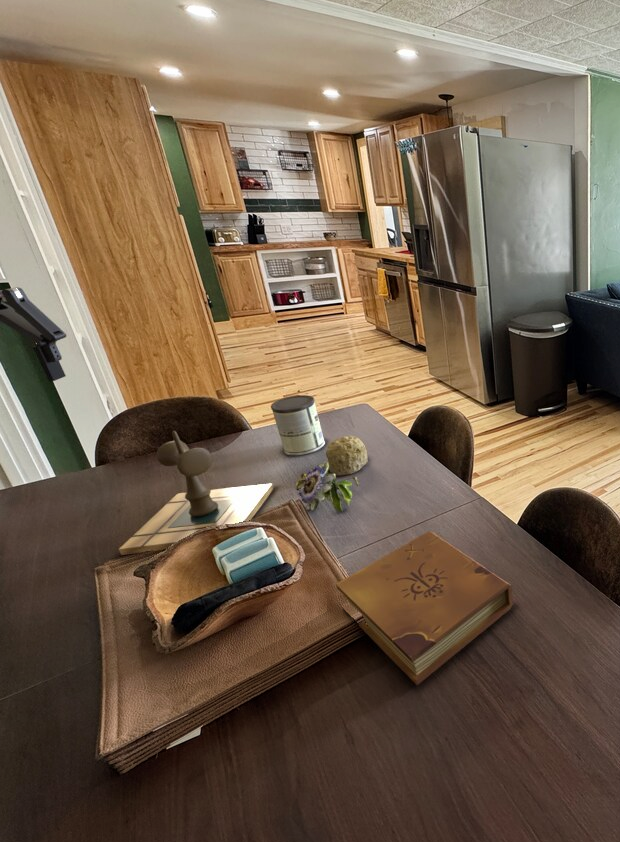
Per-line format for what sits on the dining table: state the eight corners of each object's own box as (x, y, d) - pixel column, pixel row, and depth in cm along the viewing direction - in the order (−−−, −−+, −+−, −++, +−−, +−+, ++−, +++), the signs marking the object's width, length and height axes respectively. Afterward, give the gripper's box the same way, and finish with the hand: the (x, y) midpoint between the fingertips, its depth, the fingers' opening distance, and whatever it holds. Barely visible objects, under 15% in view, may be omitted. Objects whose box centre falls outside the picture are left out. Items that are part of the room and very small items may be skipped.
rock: (327, 480, 126) (307, 461, 118) (348, 444, 133) (331, 425, 125) (359, 486, 125) (342, 468, 117) (380, 450, 131) (364, 430, 123)
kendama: (201, 525, 100) (168, 441, 92) (176, 513, 104) (143, 431, 96) (232, 509, 105) (203, 429, 97) (207, 499, 109) (177, 420, 101)
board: (121, 555, 94) (118, 548, 93) (179, 498, 112) (177, 492, 111) (235, 541, 98) (232, 534, 97) (274, 488, 116) (272, 483, 115)
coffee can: (281, 445, 136) (268, 400, 131) (321, 435, 142) (310, 392, 137) (286, 459, 129) (273, 412, 123) (328, 448, 135) (317, 402, 130)
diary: (513, 607, 82) (511, 581, 80) (417, 686, 69) (411, 658, 66) (436, 551, 95) (432, 528, 93) (342, 608, 82) (335, 582, 79)
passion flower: (316, 528, 110) (281, 488, 108) (356, 498, 118) (324, 460, 116) (329, 520, 103) (292, 478, 101) (371, 489, 110) (337, 449, 108)
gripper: (60, 256, 83) (108, 370, 91) (-122, 258, 78) (-54, 379, 86) (23, 260, 76) (78, 383, 85) (-179, 264, 71) (-99, 394, 79)
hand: (12, 381), depth 85 cm, fingers open, 13 cm apart
